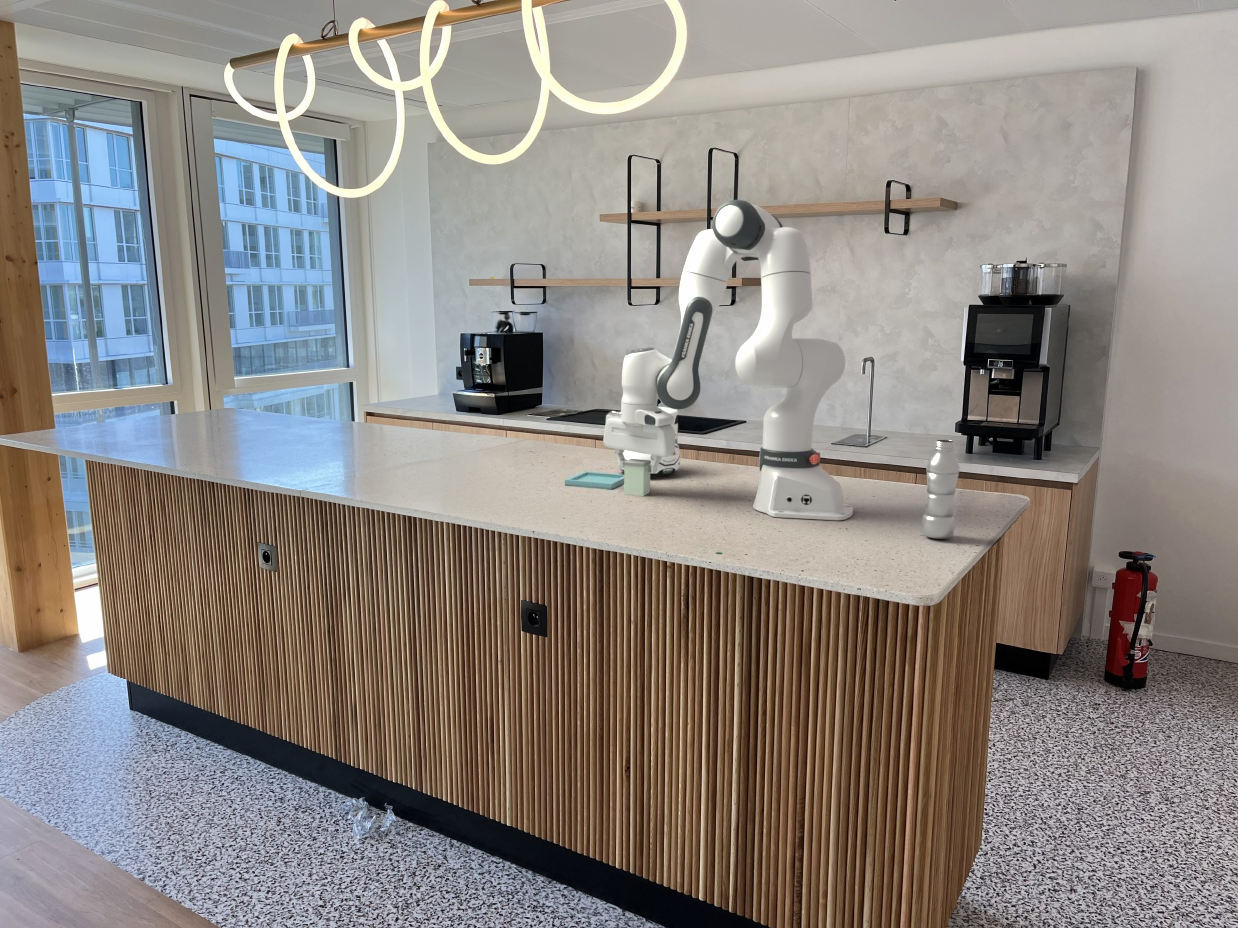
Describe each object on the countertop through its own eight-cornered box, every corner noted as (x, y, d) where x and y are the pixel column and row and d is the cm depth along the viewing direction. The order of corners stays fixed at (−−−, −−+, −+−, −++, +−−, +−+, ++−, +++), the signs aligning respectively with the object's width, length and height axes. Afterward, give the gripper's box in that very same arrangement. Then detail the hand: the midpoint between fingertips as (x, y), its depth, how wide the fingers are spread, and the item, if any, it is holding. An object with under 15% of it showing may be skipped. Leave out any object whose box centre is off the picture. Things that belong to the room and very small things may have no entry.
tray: (629, 480, 237) (629, 475, 237) (611, 489, 225) (611, 484, 225) (585, 476, 242) (585, 471, 241) (564, 485, 230) (564, 479, 229)
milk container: (673, 482, 236) (674, 414, 232) (610, 478, 240) (610, 411, 237) (685, 470, 252) (687, 407, 249) (626, 467, 256) (627, 404, 253)
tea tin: (650, 492, 222) (650, 460, 221) (643, 496, 218) (643, 463, 216) (630, 490, 224) (631, 458, 223) (623, 494, 219) (623, 462, 218)
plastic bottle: (916, 539, 180) (923, 441, 177) (925, 532, 186) (932, 437, 182) (949, 543, 177) (957, 444, 173) (957, 536, 182) (965, 440, 179)
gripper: (598, 411, 223) (597, 465, 225) (664, 420, 210) (662, 477, 213) (614, 408, 227) (613, 461, 230) (679, 417, 215) (677, 473, 217)
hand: (637, 469), depth 221 cm, fingers open, 8 cm apart
